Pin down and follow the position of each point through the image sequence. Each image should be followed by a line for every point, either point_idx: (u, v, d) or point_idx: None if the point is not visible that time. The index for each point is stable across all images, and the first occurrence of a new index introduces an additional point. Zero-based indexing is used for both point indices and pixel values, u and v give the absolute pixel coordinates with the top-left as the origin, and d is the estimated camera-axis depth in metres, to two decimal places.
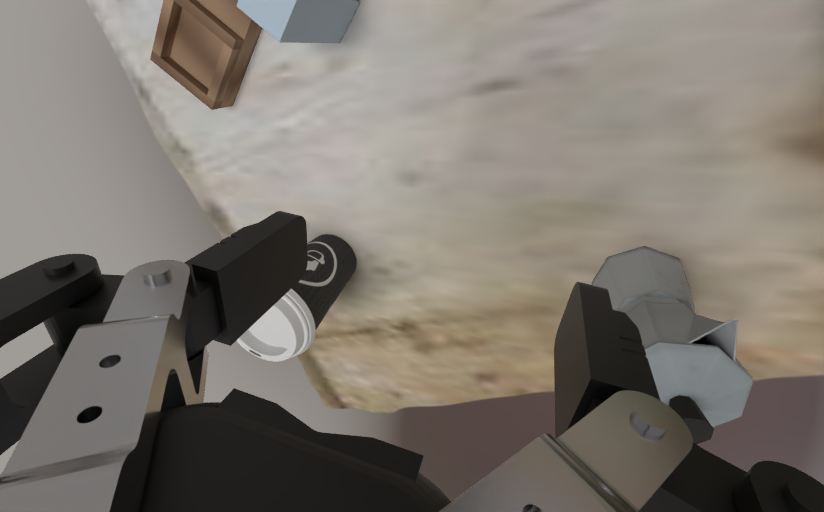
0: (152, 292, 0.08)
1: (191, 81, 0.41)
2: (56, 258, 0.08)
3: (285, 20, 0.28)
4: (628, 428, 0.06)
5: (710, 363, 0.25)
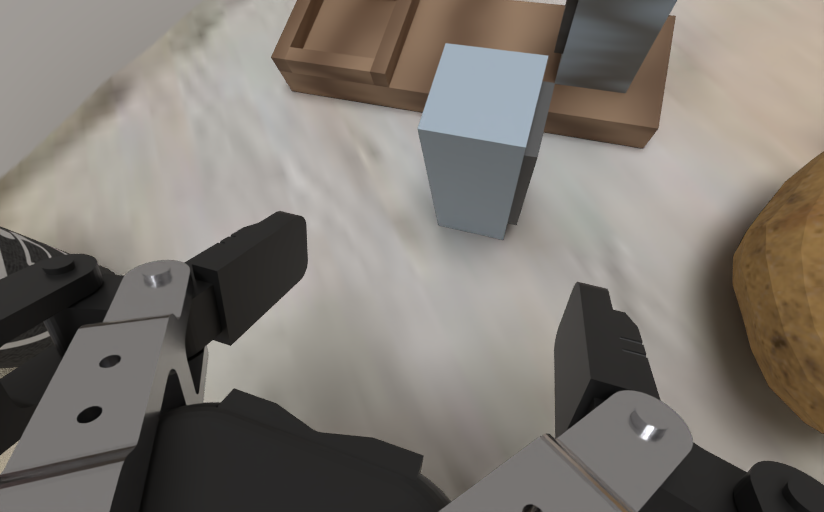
0: (152, 291, 0.08)
1: (302, 23, 0.26)
2: (56, 258, 0.08)
3: (460, 130, 0.14)
4: (628, 428, 0.06)
5: None
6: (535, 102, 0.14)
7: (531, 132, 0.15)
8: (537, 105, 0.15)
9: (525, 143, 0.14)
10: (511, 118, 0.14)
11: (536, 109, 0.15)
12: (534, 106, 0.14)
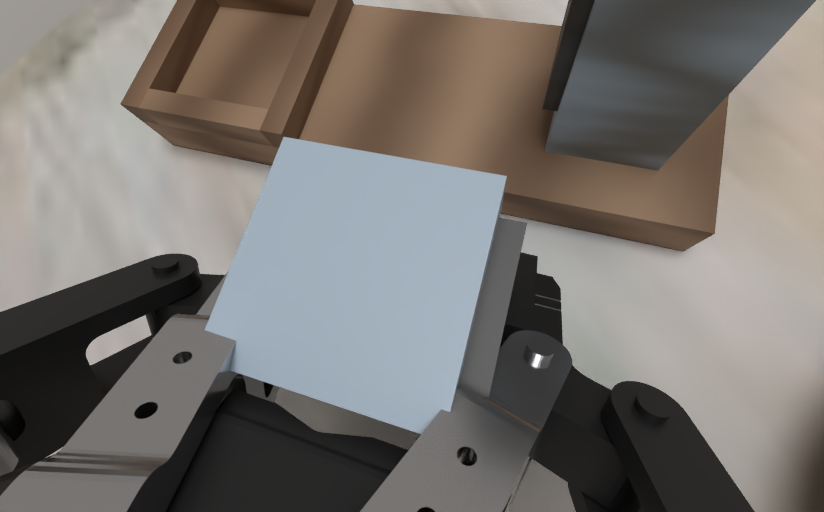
0: None
1: (173, 51, 0.18)
2: (165, 257, 0.08)
3: (288, 373, 0.06)
4: (518, 356, 0.07)
5: None
6: (472, 303, 0.06)
7: (471, 349, 0.06)
8: (487, 278, 0.07)
9: None
10: (410, 348, 0.06)
11: (484, 289, 0.07)
12: (469, 316, 0.06)
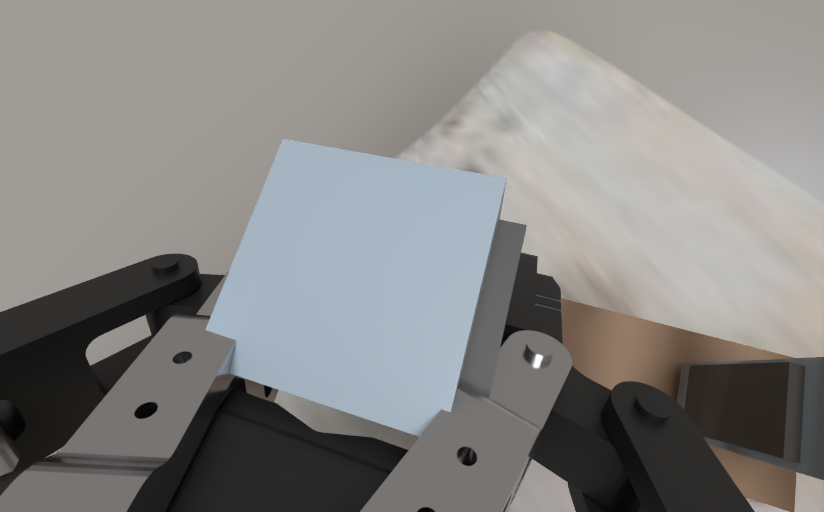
0: None
1: None
2: (165, 258, 0.08)
3: (287, 376, 0.06)
4: (518, 356, 0.07)
5: None
6: (472, 306, 0.06)
7: (471, 351, 0.06)
8: (487, 280, 0.07)
9: None
10: (410, 351, 0.06)
11: (484, 291, 0.07)
12: (469, 319, 0.06)
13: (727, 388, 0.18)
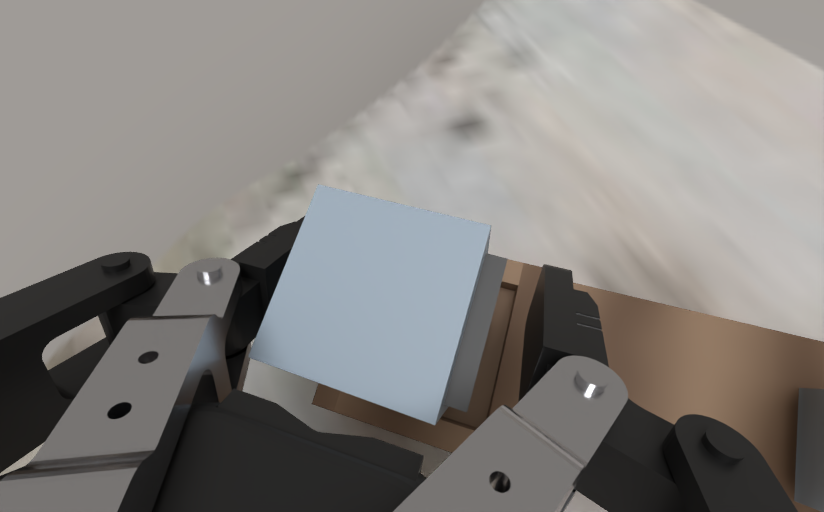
0: (202, 289, 0.08)
1: None
2: (114, 256, 0.08)
3: (320, 371, 0.08)
4: (570, 386, 0.07)
5: None
6: (460, 323, 0.08)
7: (460, 356, 0.08)
8: (474, 301, 0.09)
9: (435, 414, 0.07)
10: (413, 356, 0.07)
11: (472, 310, 0.09)
12: (458, 333, 0.07)
13: None
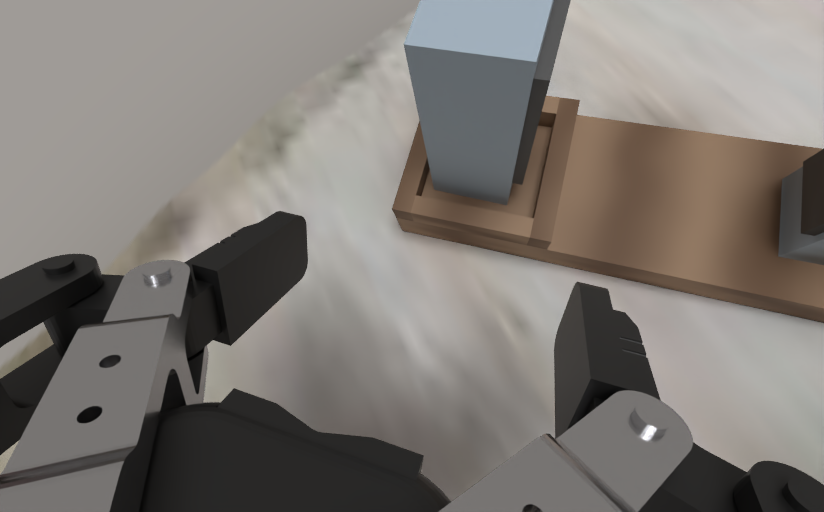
0: (152, 292, 0.08)
1: (427, 160, 0.21)
2: (57, 258, 0.08)
3: (455, 45, 0.12)
4: (628, 428, 0.06)
5: None
6: (548, 10, 0.12)
7: (542, 52, 0.12)
8: (550, 21, 0.13)
9: (535, 57, 0.11)
10: (518, 29, 0.11)
11: (548, 25, 0.13)
12: (547, 14, 0.11)
13: None
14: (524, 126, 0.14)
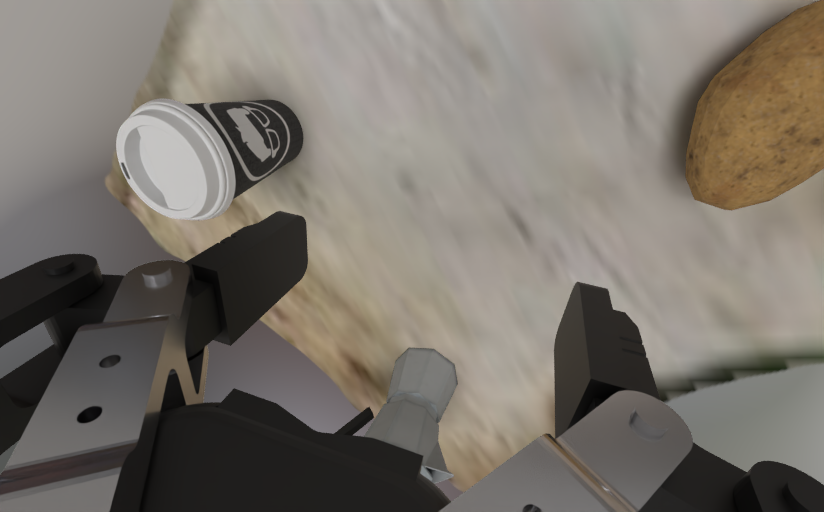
0: (152, 292, 0.08)
1: None
2: (56, 258, 0.08)
3: None
4: (628, 428, 0.06)
5: None
6: None
7: None
8: None
9: None
10: None
11: None
12: None
13: None
14: None
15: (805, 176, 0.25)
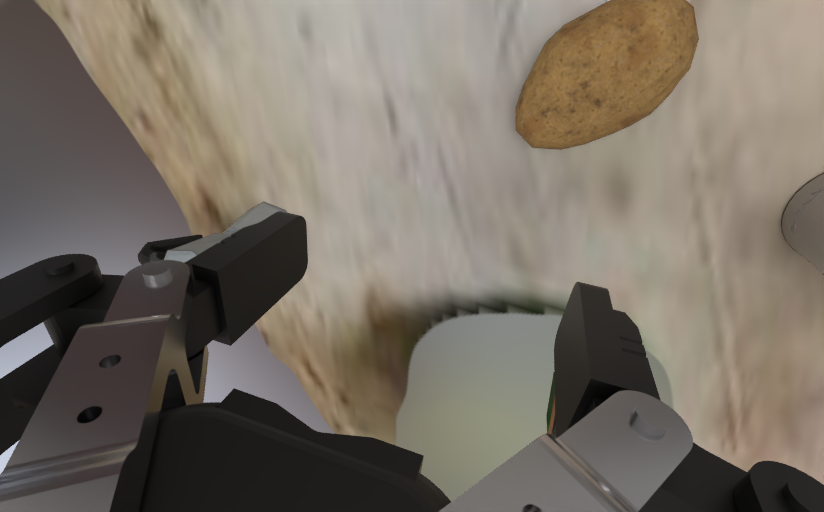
0: (152, 292, 0.08)
1: None
2: (56, 258, 0.08)
3: None
4: (628, 428, 0.06)
5: None
6: None
7: None
8: None
9: None
10: None
11: None
12: None
13: None
14: None
15: (586, 134, 0.31)
